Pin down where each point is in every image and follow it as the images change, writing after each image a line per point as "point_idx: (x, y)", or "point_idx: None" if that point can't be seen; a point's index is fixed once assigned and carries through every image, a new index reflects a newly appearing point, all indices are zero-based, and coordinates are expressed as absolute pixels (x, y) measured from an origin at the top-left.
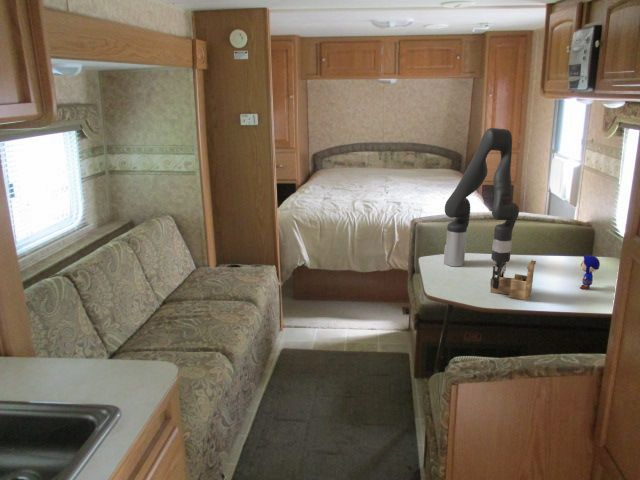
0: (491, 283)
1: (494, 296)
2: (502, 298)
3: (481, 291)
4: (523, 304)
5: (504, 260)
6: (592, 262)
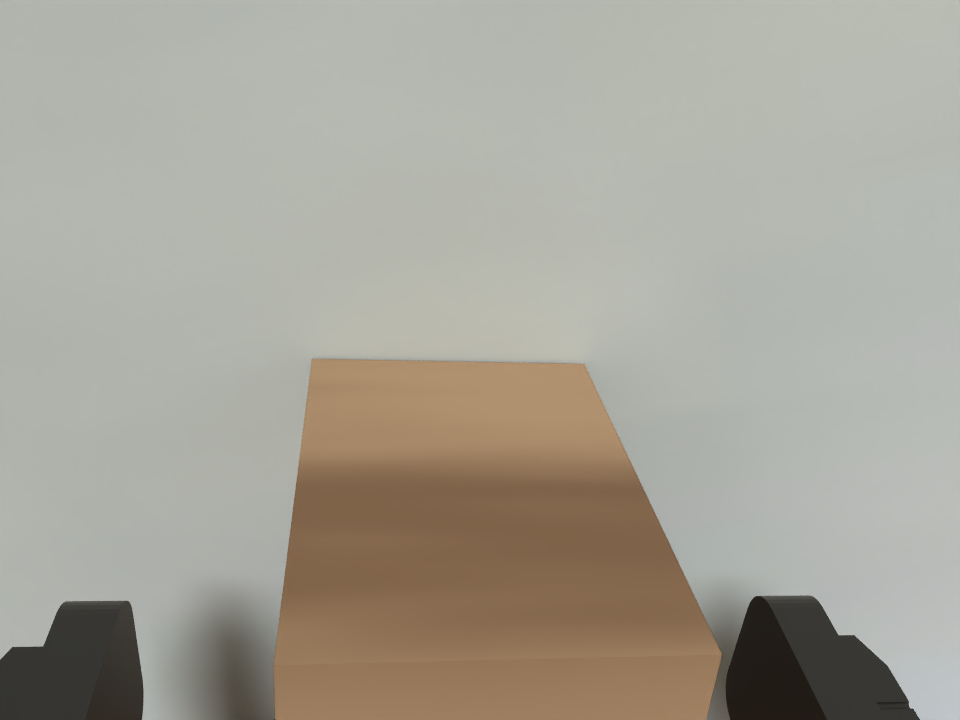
0: (293, 557)
1: (59, 499)
2: None
3: (235, 102)
4: None
5: None
6: None
